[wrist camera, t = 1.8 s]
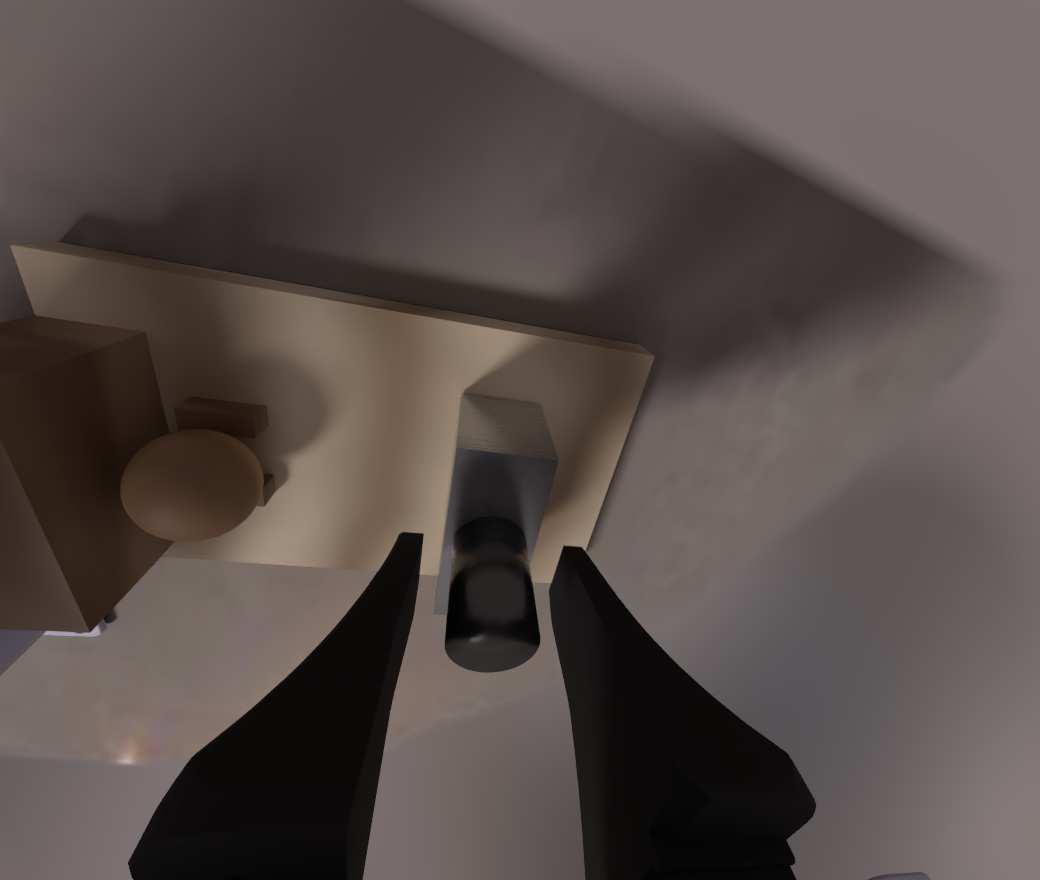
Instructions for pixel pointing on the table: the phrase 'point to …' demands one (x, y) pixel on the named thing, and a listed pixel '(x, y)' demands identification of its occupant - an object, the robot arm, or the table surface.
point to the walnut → (191, 485)
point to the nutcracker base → (267, 420)
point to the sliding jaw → (494, 532)
